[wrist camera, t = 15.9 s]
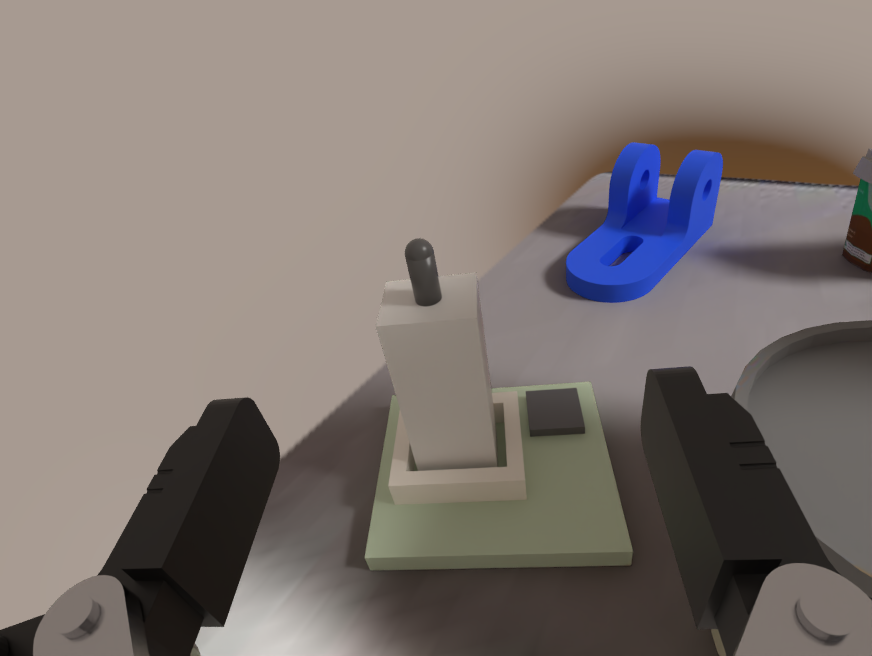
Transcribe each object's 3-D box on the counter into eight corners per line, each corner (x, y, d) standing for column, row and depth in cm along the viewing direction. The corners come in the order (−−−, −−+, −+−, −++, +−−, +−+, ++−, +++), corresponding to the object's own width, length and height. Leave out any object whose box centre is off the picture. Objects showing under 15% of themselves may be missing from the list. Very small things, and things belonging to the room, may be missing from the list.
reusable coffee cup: (637, 535, 30) (668, 339, 21) (865, 513, 29) (1002, 296, 20) (741, 834, 20) (886, 711, 11) (1091, 817, 19) (1573, 665, 10)
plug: (496, 421, 36) (469, 208, 26) (498, 479, 33) (468, 256, 23) (426, 425, 37) (374, 219, 27) (421, 482, 33) (358, 268, 23)
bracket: (637, 210, 60) (644, 132, 55) (711, 226, 55) (727, 141, 49) (549, 287, 51) (547, 202, 45) (629, 314, 46) (638, 222, 40)
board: (590, 395, 39) (591, 361, 37) (630, 565, 29) (635, 532, 27) (396, 408, 41) (386, 376, 39) (370, 570, 31) (355, 539, 29)
